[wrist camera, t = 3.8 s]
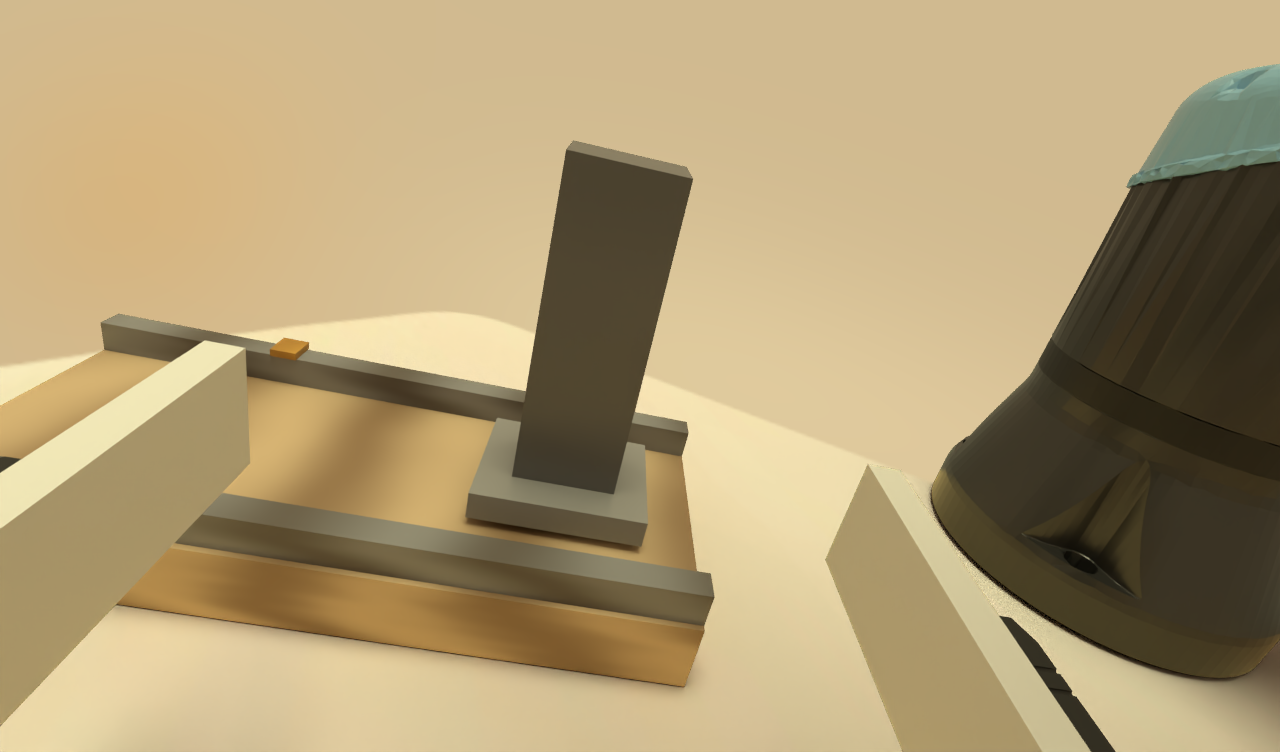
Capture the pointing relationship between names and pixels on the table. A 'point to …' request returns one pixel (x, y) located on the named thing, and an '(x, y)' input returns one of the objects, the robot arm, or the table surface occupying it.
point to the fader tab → (589, 354)
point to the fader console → (394, 516)
